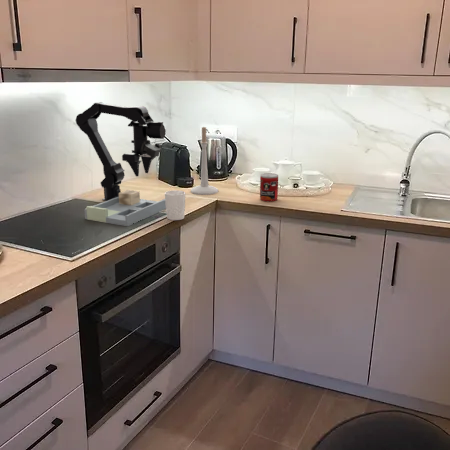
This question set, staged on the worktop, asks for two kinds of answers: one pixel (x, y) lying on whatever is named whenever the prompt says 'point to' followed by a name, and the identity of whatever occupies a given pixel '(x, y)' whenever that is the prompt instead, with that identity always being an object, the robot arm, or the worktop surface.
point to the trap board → (123, 211)
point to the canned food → (269, 187)
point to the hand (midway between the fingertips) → (142, 174)
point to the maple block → (129, 197)
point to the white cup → (175, 204)
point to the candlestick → (204, 172)
